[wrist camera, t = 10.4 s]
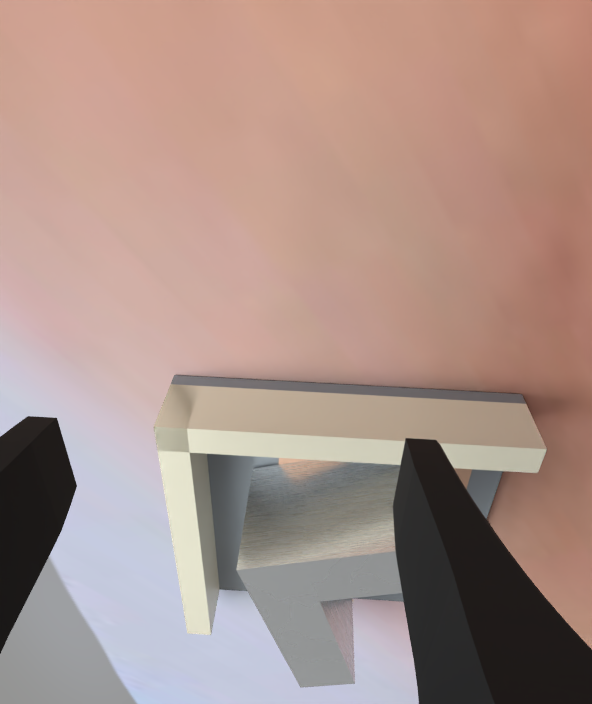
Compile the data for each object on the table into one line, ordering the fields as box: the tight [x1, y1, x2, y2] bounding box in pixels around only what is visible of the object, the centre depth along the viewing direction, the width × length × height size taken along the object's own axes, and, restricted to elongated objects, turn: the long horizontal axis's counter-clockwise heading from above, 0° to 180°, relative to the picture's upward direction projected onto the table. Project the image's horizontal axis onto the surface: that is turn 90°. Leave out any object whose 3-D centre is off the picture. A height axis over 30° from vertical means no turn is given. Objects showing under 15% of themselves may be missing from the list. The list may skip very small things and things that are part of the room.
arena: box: [154, 375, 547, 635], centre depth 25 cm, size 14×14×3 cm
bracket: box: [236, 460, 402, 687], centre depth 24 cm, size 9×8×5 cm
